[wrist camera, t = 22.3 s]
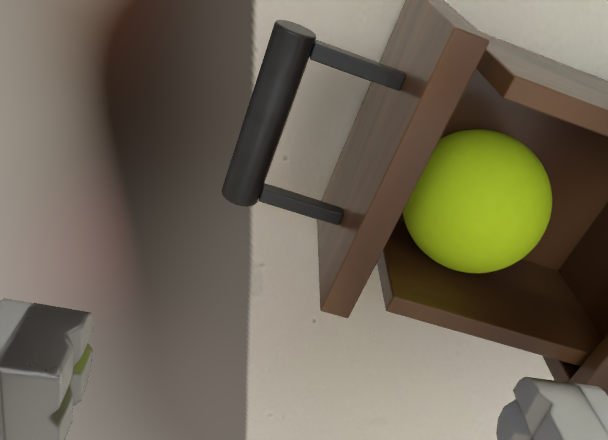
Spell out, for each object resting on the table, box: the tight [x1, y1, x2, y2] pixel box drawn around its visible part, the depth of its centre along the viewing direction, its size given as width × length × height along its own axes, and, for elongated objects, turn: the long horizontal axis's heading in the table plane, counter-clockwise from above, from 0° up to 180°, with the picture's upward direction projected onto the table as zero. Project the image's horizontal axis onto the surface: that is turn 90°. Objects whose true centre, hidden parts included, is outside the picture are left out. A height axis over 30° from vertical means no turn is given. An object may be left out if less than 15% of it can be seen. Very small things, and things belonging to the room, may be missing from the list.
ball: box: [403, 129, 552, 273], centre depth 24 cm, size 6×6×6 cm
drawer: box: [222, 0, 608, 366], centre depth 24 cm, size 18×11×8 cm, turn 70°
